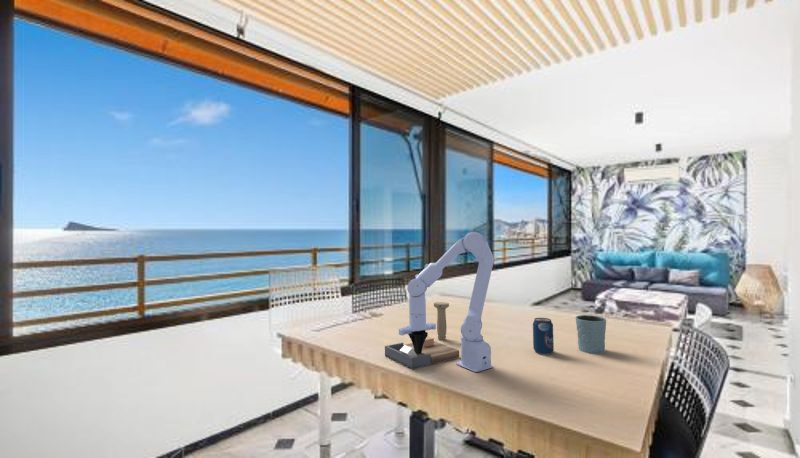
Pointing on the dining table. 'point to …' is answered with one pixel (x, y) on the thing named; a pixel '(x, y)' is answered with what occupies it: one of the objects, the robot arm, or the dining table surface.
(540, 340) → the soda can
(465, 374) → the dining table surface
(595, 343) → the blue-grey cup
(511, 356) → the dining table surface
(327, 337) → the dining table surface
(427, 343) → the tile terracotta
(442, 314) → the handle
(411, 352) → the tile cream
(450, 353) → the wooden board
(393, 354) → the box
